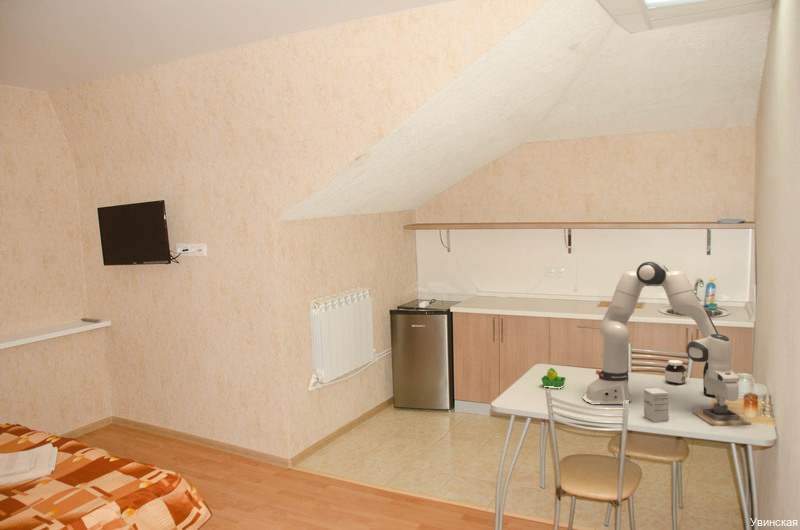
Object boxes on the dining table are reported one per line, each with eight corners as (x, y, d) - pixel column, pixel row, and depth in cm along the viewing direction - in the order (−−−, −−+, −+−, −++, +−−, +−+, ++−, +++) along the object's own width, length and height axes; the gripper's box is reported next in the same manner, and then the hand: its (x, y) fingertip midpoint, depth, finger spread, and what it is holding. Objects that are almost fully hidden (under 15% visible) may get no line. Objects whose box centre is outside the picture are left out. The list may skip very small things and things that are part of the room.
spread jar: (674, 386, 287) (674, 364, 287) (657, 381, 298) (656, 360, 297) (691, 383, 292) (691, 361, 292) (673, 378, 303) (672, 357, 302)
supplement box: (643, 416, 245) (643, 388, 244) (659, 415, 246) (659, 387, 245) (652, 422, 238) (652, 393, 237) (669, 421, 238) (668, 392, 238)
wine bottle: (725, 398, 265) (724, 335, 263) (706, 397, 267) (706, 335, 265) (719, 393, 273) (718, 332, 271) (701, 392, 275) (700, 332, 273)
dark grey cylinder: (717, 418, 236) (717, 407, 235) (711, 414, 241) (711, 403, 241) (730, 418, 236) (730, 406, 235) (723, 414, 241) (723, 402, 241)
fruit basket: (566, 386, 296) (565, 365, 295) (561, 391, 289) (560, 369, 288) (545, 384, 302) (544, 364, 301) (540, 388, 295) (539, 367, 294)
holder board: (711, 426, 230) (711, 419, 230) (692, 413, 246) (692, 406, 246) (751, 424, 230) (750, 417, 230) (728, 412, 246) (728, 405, 246)
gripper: (699, 367, 248) (700, 397, 248) (726, 379, 227) (726, 412, 228) (714, 366, 247) (714, 397, 248) (741, 378, 227) (741, 412, 228)
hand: (720, 404), depth 238 cm, fingers closed
